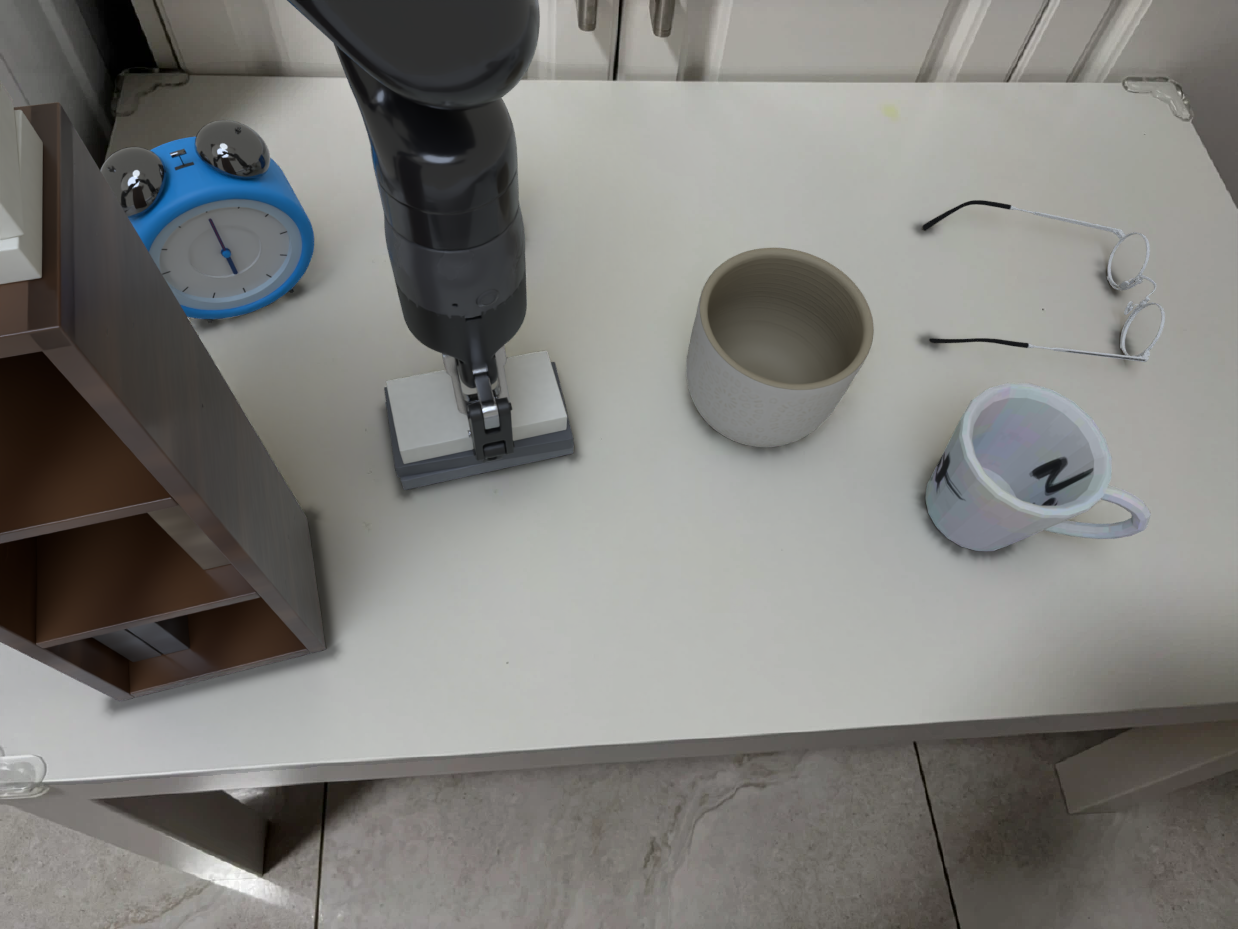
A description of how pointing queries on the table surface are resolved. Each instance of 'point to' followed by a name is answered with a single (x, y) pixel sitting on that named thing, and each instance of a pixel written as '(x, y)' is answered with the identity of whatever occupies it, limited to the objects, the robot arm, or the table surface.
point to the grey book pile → (466, 461)
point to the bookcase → (132, 467)
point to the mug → (1025, 472)
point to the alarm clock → (215, 218)
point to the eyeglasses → (1123, 286)
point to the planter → (775, 345)
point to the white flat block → (441, 429)
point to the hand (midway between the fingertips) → (478, 408)
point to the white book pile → (19, 195)
